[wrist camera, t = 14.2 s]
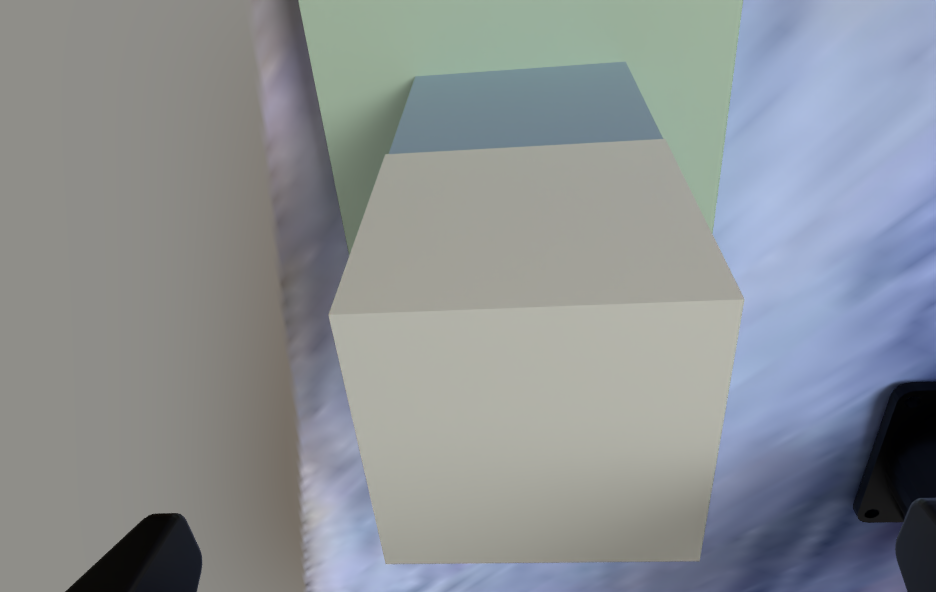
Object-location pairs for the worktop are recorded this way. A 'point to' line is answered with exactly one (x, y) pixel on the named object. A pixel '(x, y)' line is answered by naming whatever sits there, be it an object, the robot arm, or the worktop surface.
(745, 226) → the worktop surface
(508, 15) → the green block
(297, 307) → the worktop surface
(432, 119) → the blue block
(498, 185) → the cream block
